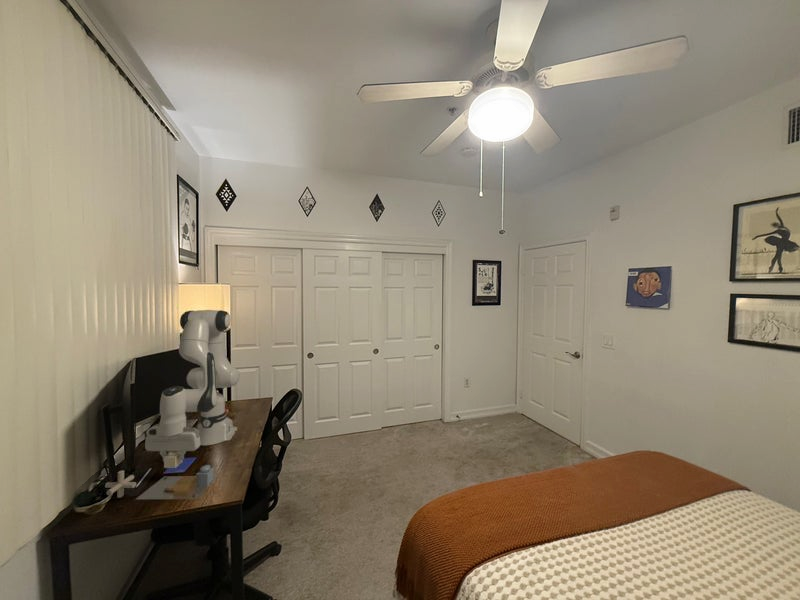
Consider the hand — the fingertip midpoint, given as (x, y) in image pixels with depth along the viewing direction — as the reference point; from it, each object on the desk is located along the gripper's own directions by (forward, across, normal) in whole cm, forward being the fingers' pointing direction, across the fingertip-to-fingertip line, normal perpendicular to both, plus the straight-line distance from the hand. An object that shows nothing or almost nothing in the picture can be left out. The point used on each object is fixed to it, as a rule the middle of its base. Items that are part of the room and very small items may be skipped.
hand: (173, 460), depth 128 cm
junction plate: (+8, -6, +6) cm, 12 cm away
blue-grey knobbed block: (+8, -14, +2) cm, 16 cm away
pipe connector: (+8, +12, +11) cm, 18 cm away
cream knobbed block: (+2, 0, 0) cm, 2 cm away
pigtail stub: (+8, -7, +8) cm, 13 cm away
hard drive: (+10, +4, -11) cm, 15 cm away
